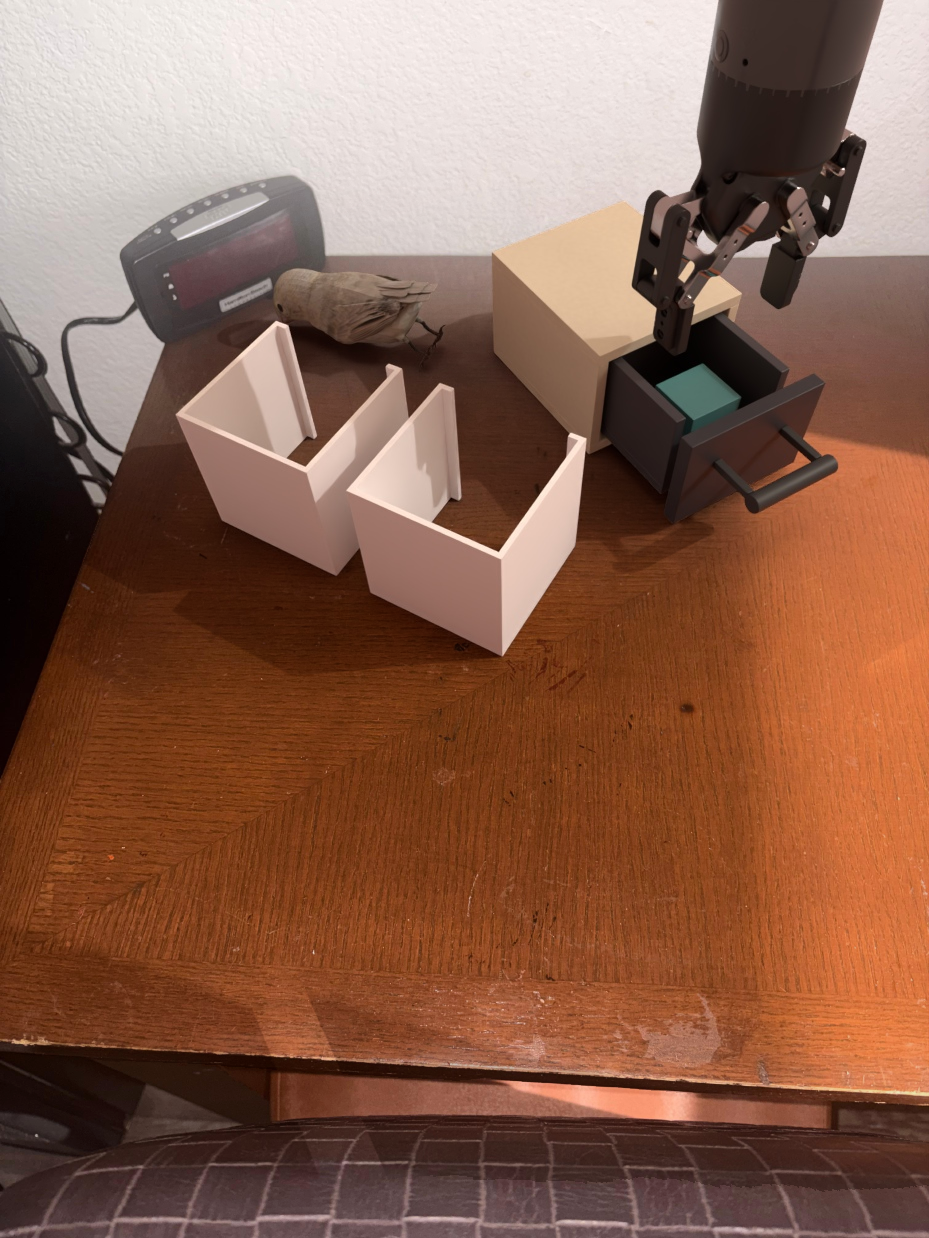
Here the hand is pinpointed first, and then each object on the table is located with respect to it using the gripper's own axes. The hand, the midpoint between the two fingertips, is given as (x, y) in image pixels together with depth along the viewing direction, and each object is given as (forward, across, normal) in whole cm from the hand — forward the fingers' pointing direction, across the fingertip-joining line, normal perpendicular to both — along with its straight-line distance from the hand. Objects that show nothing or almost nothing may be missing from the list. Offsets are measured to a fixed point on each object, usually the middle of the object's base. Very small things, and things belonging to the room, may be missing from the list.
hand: (723, 324), depth 55 cm
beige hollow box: (+13, +1, +13) cm, 18 cm away
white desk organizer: (+14, -23, +6) cm, 27 cm away
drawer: (+13, +1, 0) cm, 13 cm away
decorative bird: (+13, -15, +28) cm, 34 cm away
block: (+11, +1, +2) cm, 11 cm away
